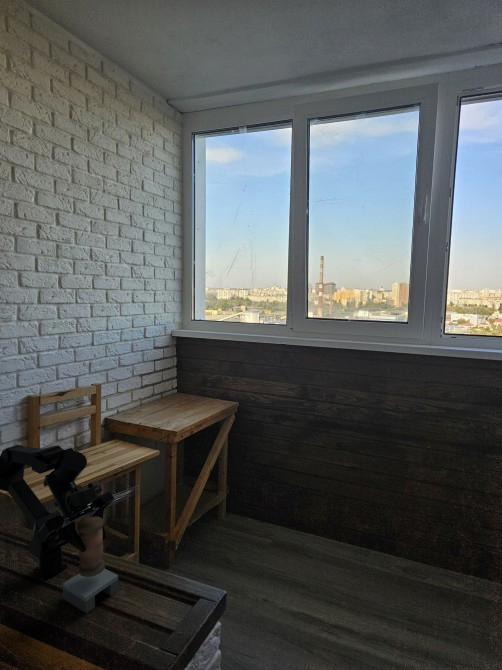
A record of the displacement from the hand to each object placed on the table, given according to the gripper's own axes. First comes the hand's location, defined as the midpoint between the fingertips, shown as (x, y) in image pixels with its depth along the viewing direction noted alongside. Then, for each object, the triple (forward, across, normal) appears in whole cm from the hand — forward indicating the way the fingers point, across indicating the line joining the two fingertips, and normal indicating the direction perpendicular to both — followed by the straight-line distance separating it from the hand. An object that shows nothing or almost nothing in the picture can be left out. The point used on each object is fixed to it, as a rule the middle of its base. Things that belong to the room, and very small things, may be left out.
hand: (94, 545), depth 105 cm
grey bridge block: (+8, 0, +10) cm, 13 cm away
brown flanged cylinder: (+4, 0, +6) cm, 7 cm away
